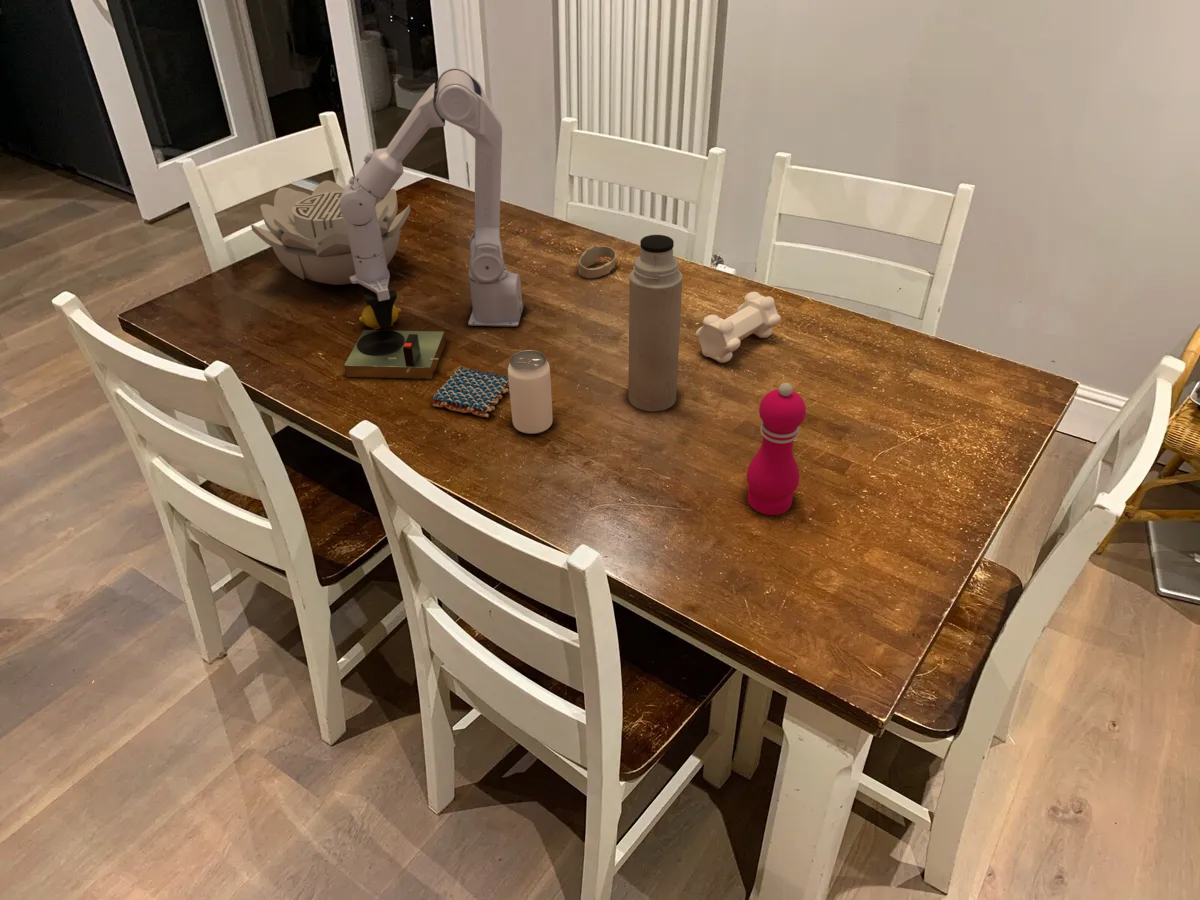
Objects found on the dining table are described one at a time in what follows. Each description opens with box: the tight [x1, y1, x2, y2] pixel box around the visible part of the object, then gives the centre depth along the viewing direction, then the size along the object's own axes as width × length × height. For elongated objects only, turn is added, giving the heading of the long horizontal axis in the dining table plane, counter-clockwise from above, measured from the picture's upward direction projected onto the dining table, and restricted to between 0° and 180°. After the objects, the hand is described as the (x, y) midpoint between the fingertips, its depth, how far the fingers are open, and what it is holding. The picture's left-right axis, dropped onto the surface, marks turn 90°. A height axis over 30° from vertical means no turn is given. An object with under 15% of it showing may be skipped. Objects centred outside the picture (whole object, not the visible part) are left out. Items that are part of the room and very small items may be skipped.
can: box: [507, 349, 554, 435], centre depth 134 cm, size 6×6×12 cm
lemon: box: [358, 304, 402, 330], centre depth 162 cm, size 8×4×4 cm, turn 116°
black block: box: [403, 334, 420, 366], centre depth 148 cm, size 5×2×4 cm, turn 176°
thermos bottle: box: [627, 234, 683, 412], centre depth 134 cm, size 8×8×28 cm
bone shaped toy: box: [694, 291, 782, 364], centre depth 153 cm, size 15×9×8 cm, turn 135°
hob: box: [343, 329, 447, 380], centre depth 152 cm, size 16×14×3 cm
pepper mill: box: [745, 382, 807, 516], centre depth 116 cm, size 7×7×20 cm
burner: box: [356, 329, 405, 356], centre depth 153 cm, size 8×8×1 cm
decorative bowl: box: [250, 179, 411, 286], centre depth 176 cm, size 30×30×15 cm
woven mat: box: [432, 366, 510, 419], centre depth 143 cm, size 10×11×2 cm
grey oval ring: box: [577, 244, 617, 279], centre depth 178 cm, size 9×6×5 cm
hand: (380, 318), depth 162 cm, fingers open, 6 cm apart
